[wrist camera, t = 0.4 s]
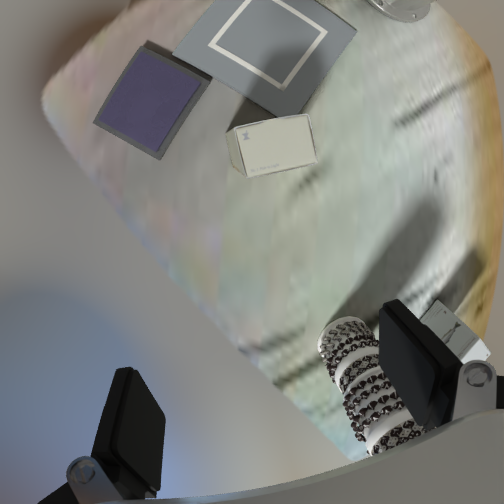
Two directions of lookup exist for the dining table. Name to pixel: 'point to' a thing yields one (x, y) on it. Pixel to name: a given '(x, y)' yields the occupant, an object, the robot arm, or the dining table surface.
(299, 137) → the skincare box
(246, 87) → the card
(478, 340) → the supplement box
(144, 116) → the ink pad
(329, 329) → the decorative candle
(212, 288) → the dining table surface
